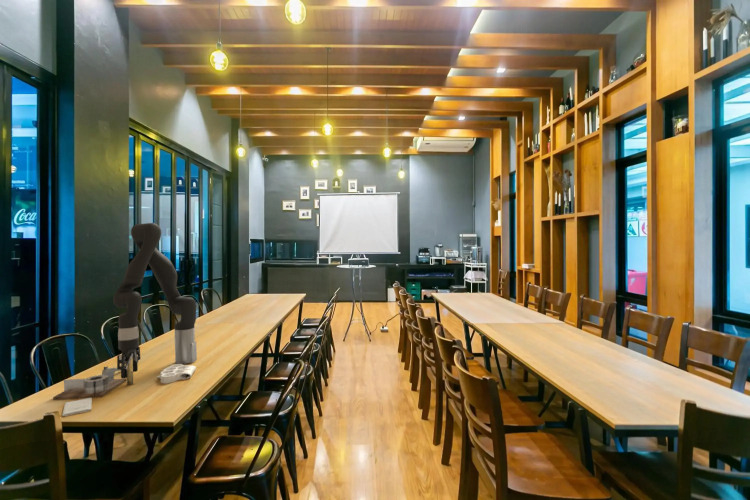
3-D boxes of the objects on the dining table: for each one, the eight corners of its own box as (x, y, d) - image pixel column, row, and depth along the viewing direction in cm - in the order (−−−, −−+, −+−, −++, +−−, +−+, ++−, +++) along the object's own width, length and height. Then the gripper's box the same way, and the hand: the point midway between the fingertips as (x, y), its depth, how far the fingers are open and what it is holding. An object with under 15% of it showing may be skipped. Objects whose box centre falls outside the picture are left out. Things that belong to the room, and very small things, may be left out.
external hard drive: (91, 401, 150) (91, 412, 140) (65, 406, 145) (62, 418, 135) (91, 397, 150) (90, 408, 140) (64, 402, 145) (62, 414, 135)
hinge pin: (134, 383, 167) (133, 355, 167) (131, 385, 165) (130, 357, 165) (128, 383, 167) (127, 356, 167) (125, 385, 165) (124, 357, 164)
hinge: (122, 379, 169) (122, 368, 169) (101, 393, 153) (100, 381, 153) (83, 381, 168) (83, 370, 167) (57, 395, 152) (57, 383, 152)
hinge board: (126, 380, 170) (126, 378, 170) (102, 396, 153) (102, 394, 153) (82, 383, 168) (82, 380, 168) (53, 399, 151) (53, 397, 151)
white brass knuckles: (189, 382, 169) (152, 385, 165) (197, 369, 186) (164, 372, 183) (188, 374, 169) (152, 377, 165) (197, 362, 186) (163, 365, 183)
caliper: (104, 382, 170) (103, 367, 170) (101, 382, 170) (101, 367, 170) (133, 367, 191) (133, 354, 191) (131, 367, 191) (131, 354, 191)
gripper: (129, 341, 159) (130, 380, 159) (145, 333, 173) (146, 369, 173) (109, 342, 158) (110, 381, 158) (128, 334, 172) (129, 369, 172)
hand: (129, 374), depth 166 cm, fingers open, 8 cm apart
